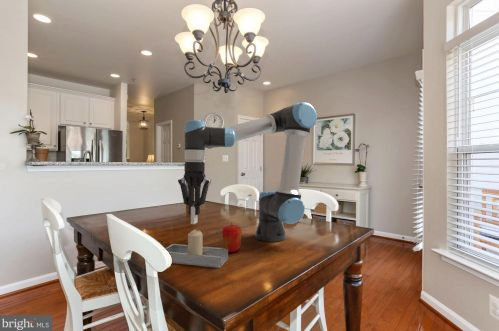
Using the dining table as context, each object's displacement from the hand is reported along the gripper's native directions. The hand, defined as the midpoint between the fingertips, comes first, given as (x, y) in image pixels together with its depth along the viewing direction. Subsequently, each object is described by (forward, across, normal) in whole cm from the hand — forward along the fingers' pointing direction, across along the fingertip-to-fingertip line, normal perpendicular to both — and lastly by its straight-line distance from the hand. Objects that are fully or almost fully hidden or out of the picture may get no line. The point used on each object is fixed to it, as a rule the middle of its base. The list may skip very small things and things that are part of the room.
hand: (194, 223), depth 97 cm
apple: (+14, -11, -13) cm, 22 cm away
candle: (+13, 0, -1) cm, 13 cm away
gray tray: (+14, 0, 0) cm, 14 cm away
